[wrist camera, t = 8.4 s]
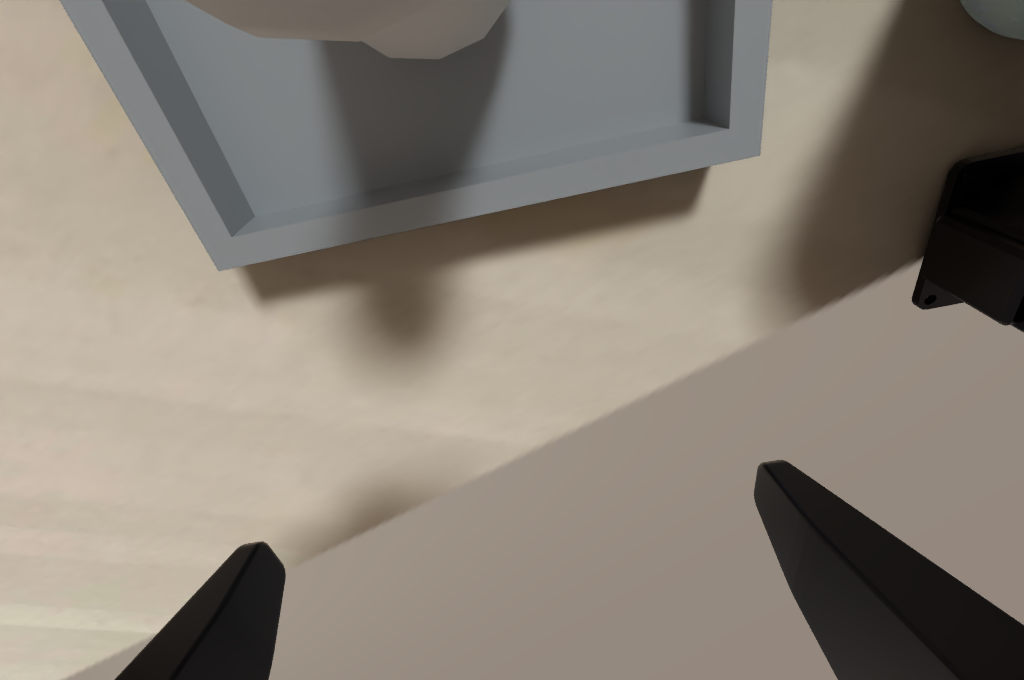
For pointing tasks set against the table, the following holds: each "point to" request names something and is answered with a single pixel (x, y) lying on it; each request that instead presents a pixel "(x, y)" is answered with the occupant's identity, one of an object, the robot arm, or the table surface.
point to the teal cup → (998, 16)
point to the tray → (425, 114)
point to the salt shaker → (366, 22)
